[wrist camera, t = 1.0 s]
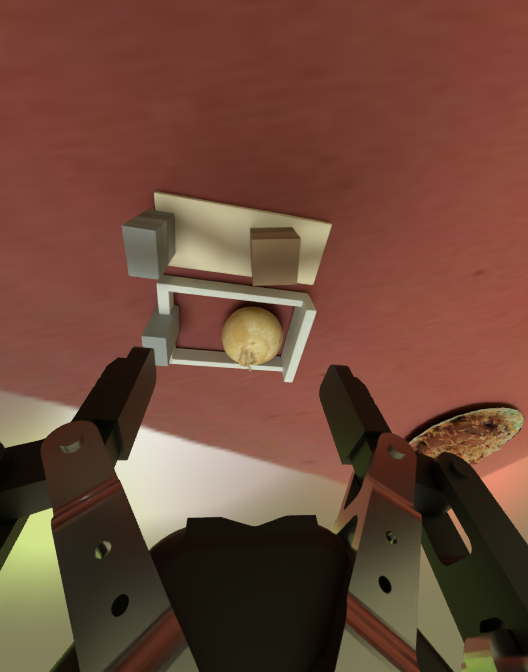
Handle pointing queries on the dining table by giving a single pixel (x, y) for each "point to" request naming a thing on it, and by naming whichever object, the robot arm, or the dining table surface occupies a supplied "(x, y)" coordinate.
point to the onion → (252, 336)
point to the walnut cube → (274, 255)
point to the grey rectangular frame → (166, 315)
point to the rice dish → (470, 434)
